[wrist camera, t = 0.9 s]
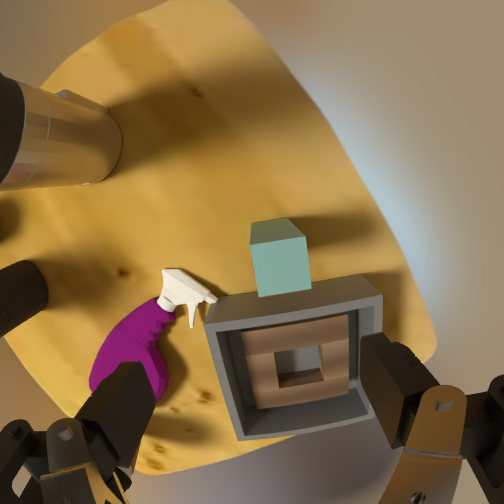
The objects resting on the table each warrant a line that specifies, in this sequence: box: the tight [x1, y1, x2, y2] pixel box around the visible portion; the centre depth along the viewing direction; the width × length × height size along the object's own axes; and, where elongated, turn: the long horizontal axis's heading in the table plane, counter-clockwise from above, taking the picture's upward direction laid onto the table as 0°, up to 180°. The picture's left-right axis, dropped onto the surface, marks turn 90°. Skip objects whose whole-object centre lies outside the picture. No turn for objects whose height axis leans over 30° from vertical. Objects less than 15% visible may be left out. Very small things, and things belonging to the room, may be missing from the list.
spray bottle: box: [89, 269, 218, 403], centre depth 35 cm, size 3×11×24 cm
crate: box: [203, 274, 383, 441], centre depth 33 cm, size 18×18×7 cm
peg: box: [250, 218, 312, 297], centre depth 27 cm, size 4×4×12 cm
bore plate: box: [241, 311, 349, 409], centre depth 33 cm, size 12×12×3 cm
